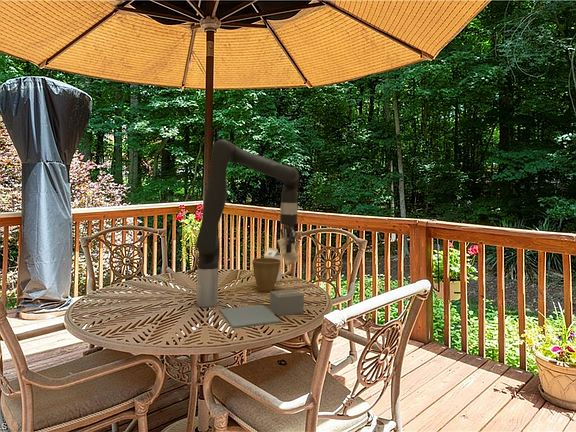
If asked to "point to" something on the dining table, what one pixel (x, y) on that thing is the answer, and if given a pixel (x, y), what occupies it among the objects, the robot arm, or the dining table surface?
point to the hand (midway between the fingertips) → (287, 252)
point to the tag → (288, 257)
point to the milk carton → (276, 255)
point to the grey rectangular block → (286, 302)
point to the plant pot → (266, 273)
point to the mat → (249, 316)
